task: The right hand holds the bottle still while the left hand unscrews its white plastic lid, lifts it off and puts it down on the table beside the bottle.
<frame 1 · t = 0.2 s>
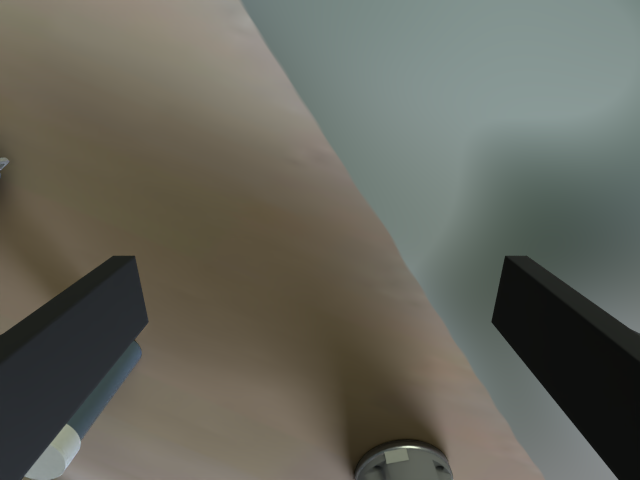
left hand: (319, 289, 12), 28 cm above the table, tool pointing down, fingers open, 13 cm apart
bottle: (123, 350, 48), on the table
lid: (37, 456, 33), point 16 cm above the table, screwed on, not yet turned
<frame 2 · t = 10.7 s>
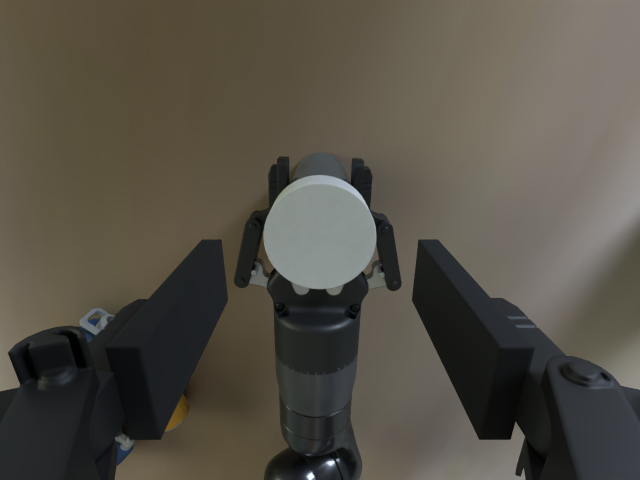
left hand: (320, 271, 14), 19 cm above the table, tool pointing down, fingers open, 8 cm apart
right hand: (320, 159, 25), fingers closed on bottle, 5 cm apart
bottle: (319, 179, 32), on the table, touching right hand
lid: (319, 237, 18), point 16 cm above the table, screwed on, not yet turned
spray gun: (124, 385, 41), on the table
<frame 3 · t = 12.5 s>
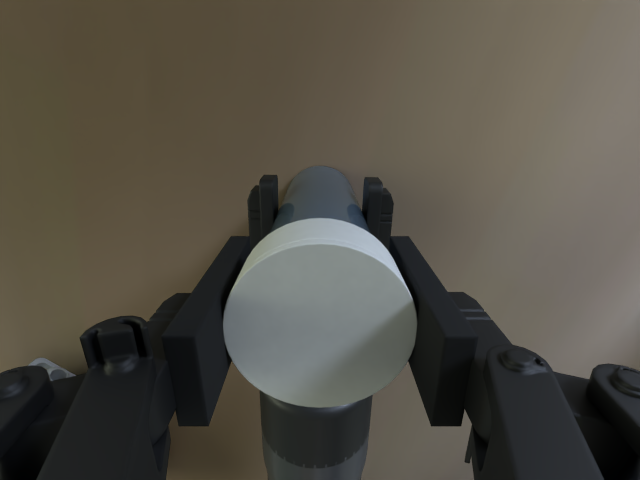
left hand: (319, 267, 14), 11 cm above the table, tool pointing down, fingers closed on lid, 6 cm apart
bottle: (320, 199, 25), on the table, touching right hand
lid: (320, 326, 10), point 16 cm above the table, screwed on, not yet turned, touching left hand
spray gun: (81, 445, 34), on the table
when the left hand's fingers open (12 cm above the table, at t = 13.6 s): lid stays where it is, point 16 cm above the table.
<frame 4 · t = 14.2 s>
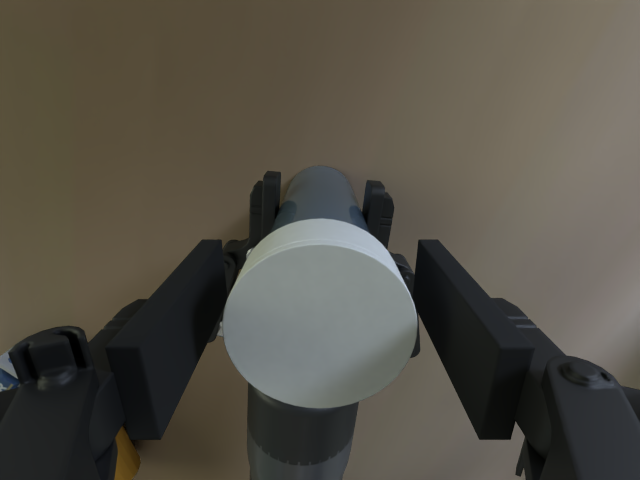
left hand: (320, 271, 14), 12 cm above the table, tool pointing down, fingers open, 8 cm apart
bottle: (319, 199, 25), on the table, touching right hand
lid: (319, 327, 10), point 16 cm above the table, turned 63° so far, risen 0.2 cm, still on its thread
spray gun: (61, 431, 33), on the table
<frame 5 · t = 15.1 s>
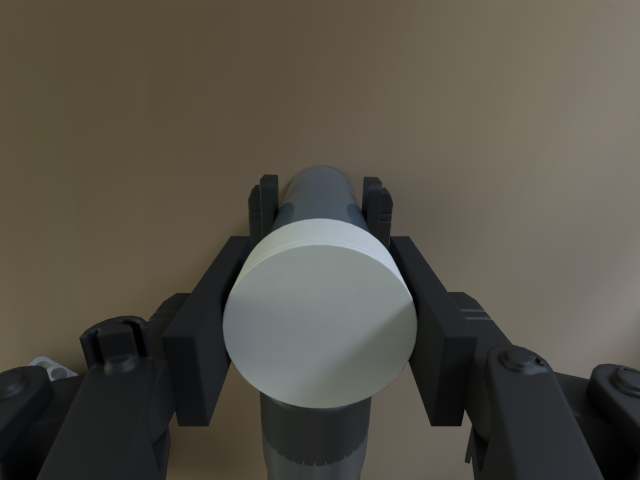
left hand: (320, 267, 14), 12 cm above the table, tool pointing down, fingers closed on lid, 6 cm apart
bottle: (319, 199, 25), on the table, touching right hand
lid: (319, 327, 10), point 16 cm above the table, turned 63° so far, risen 0.2 cm, still on its thread, touching left hand
spray gun: (82, 443, 34), on the table
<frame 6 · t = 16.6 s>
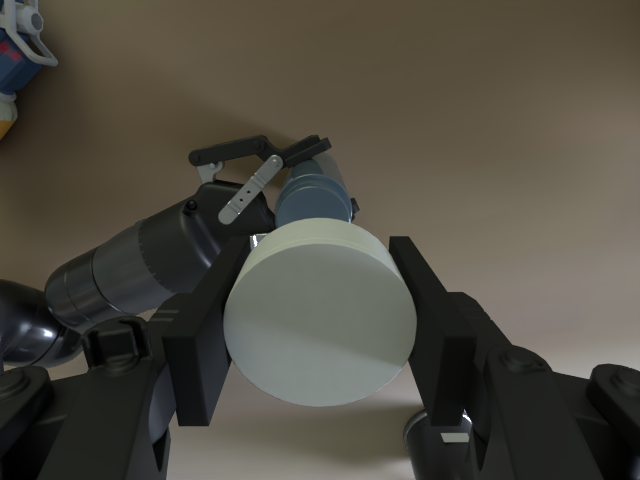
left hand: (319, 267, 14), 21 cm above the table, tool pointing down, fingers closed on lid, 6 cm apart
right hand: (342, 174, 28), fingers closed on bottle, 5 cm apart
bottle: (313, 174, 34), on the table, touching right hand
lid: (320, 326, 10), point 25 cm above the table, off its thread, touching left hand
when the left hand's fingers open (0 cm above the table, at t = 21.5 s): lid drops 2 cm, point 2 cm above the table.
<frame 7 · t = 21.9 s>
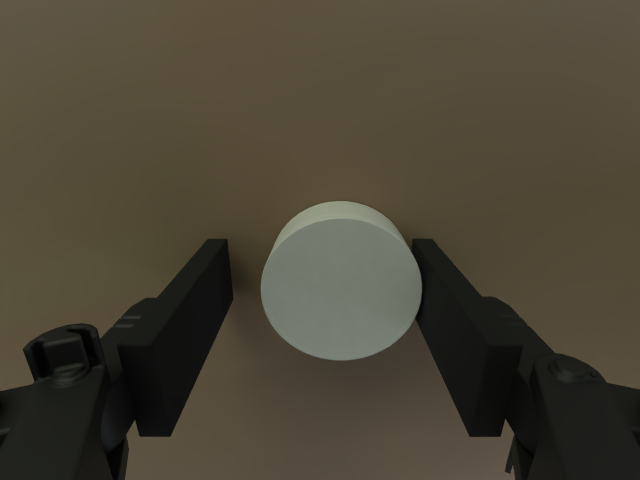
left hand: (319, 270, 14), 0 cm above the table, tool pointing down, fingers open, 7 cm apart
lid: (340, 290, 12), point 2 cm above the table, off its thread
when the right hand's fingers open (6 cm above the table, at t = 22.6 s): bottle stays where it is, on the table.
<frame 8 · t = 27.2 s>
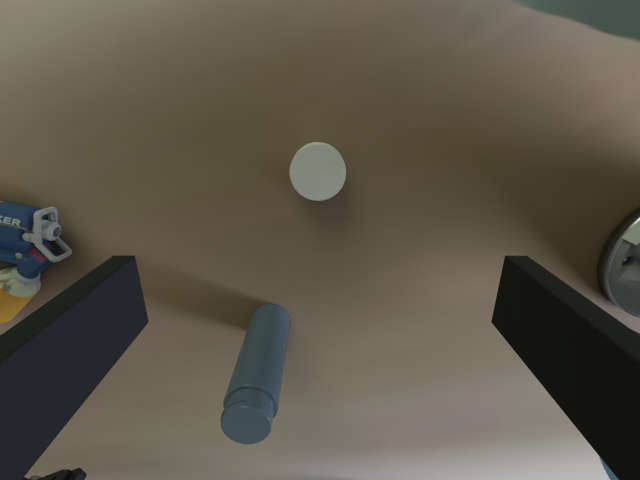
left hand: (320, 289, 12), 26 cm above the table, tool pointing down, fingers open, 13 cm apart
bottle: (270, 320, 43), on the table
lid: (317, 172, 35), point 2 cm above the table, off its thread
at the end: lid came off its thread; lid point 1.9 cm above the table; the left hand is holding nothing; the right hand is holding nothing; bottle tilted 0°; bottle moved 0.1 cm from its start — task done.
